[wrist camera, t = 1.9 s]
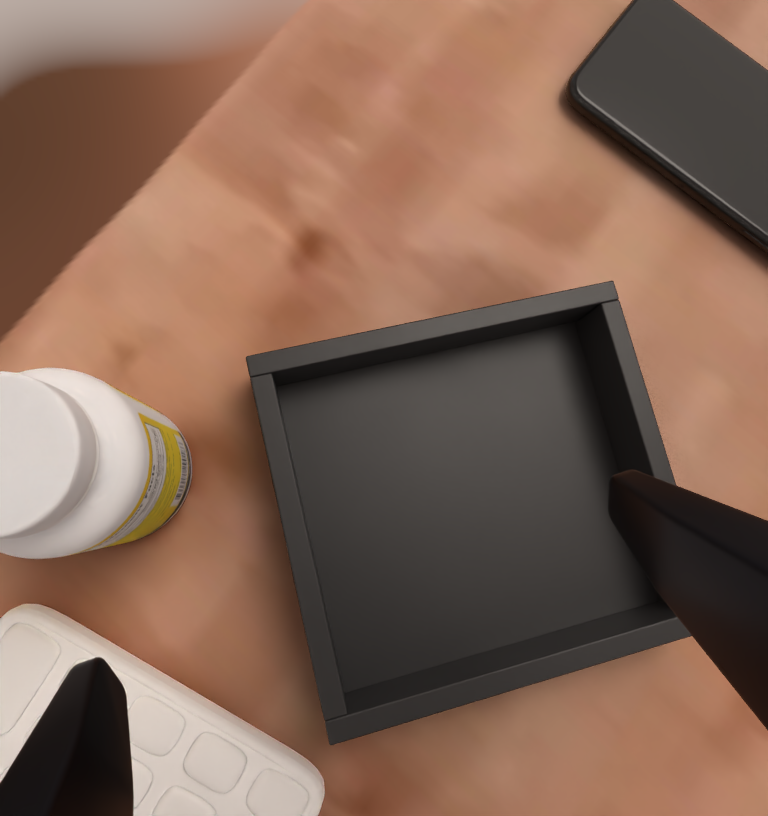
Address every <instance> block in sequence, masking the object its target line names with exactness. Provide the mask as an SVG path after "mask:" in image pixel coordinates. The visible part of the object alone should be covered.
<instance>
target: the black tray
mask: <svg viewBox="0 0 768 816" xmlns="http://www.w3.org/2000/svg"><path fill="white" fill-rule="evenodd" d="M246 361H247V366H248V371H249V375H250V378H251V379H250V380H251V384H252V389H253V394H254V398H255V403H256V408H257V412H258V417H259V421H260V426H261V431H262V435H263V440H264V444H265V449H266V454H267V458H268V463H269V467H270V472H271V477H272V481H273V486H274V490H275V495H276V500H277V504H278V509H279V514H280V518H281V523H282V527H283V532H284V537H285V541H286V546H287V550H288V555H289V560H290V564H291V569H292V573H293V578H294V583H295V587H296V592H297V596H298V601H299V606H300V610H301V615H302V620H303V624H304V629H305V633H306V638H307V643H308V647H309V652H310V656H311V661H312V666H313V670H314V675H315V679H316V684H317V689H318V693H319V698H320V702H321V707H322V712H323V716H324V720H325V725H326V730H327V735H328V739H329V744H330V745H334V744H337V743H341V742H344V741H347V740H351V739H354V738H357V737H360V736H364V735H367V734H370V733H374V732H377V731H380V730H383V729H387V728H390V727H393V726H397V725H400V724H403V723H407V722H410V721H413V720H416V719H420V718H423V717H426V716H430V715H433V714H436V713H439V712H443V711H446V710H449V709H453V708H456V707H459V706H462V705H466V704H469V703H472V702H476V701H479V700H482V699H486V698H489V697H492V696H495V695H499V694H502V693H505V692H509V691H512V690H515V689H518V688H522V687H525V686H528V685H532V684H535V683H538V682H541V681H545V680H548V679H551V678H555V677H558V676H561V675H564V674H568V673H571V672H574V671H578V670H581V669H584V668H588V667H591V666H594V665H597V664H601V663H604V662H607V661H611V660H614V659H617V658H620V657H624V656H627V655H630V654H634V653H637V652H640V651H643V650H647V649H650V648H653V647H657V646H660V645H663V644H666V643H670V642H673V641H676V640H680V639H683V638H686V637H690V636H692V635H691V634H690V632H689V631H688V630H687V629H686V627H685V626H684V625H683V624H682V622H681V621H680V620H679V619H678V617H677V616H676V615H675V614H674V612H673V611H672V610H671V609H670V607H669V606H668V605H667V604H666V602H665V601H664V600H663V598H662V597H661V596H660V595H659V593H658V592H657V591H656V589H655V588H654V586H653V585H652V583H651V582H650V580H649V579H648V577H647V576H646V574H645V572H644V571H643V569H642V568H641V566H640V565H639V563H638V561H637V560H636V558H635V557H634V555H633V554H632V552H631V551H630V549H629V547H628V546H627V544H626V543H625V541H624V540H623V538H622V536H621V535H620V533H619V532H618V530H617V529H616V527H615V526H614V524H613V522H612V521H611V519H610V516H609V513H608V494H609V480H610V478H611V477H612V476H613V475H615V474H618V473H621V472H623V471H626V470H631V469H632V470H637V471H639V472H642V473H645V474H647V475H650V476H652V477H655V478H658V479H660V480H663V481H665V482H668V483H671V484H673V485H676V483H675V480H674V477H673V474H672V470H671V467H670V464H669V461H668V457H667V454H666V451H665V448H664V444H663V441H662V438H661V435H660V431H659V428H658V425H657V422H656V418H655V415H654V412H653V409H652V405H651V402H650V399H649V396H648V392H647V389H646V386H645V383H644V379H643V376H642V373H641V370H640V367H639V363H638V360H637V357H636V354H635V350H634V347H633V344H632V341H631V337H630V334H629V331H628V328H627V324H626V321H625V318H624V315H623V311H622V308H621V305H620V302H619V300H618V295H617V291H616V288H615V285H614V282H613V281H609V282H604V283H599V284H594V285H589V286H584V287H580V288H575V289H570V290H565V291H560V292H555V293H551V294H546V295H541V296H536V297H531V298H526V299H522V300H517V301H512V302H507V303H502V304H497V305H493V306H488V307H483V308H478V309H473V310H468V311H463V312H459V313H454V314H449V315H444V316H439V317H434V318H430V319H425V320H420V321H415V322H410V323H405V324H401V325H396V326H391V327H386V328H381V329H376V330H372V331H367V332H362V333H357V334H352V335H347V336H342V337H338V338H333V339H328V340H323V341H318V342H313V343H309V344H304V345H299V346H294V347H289V348H284V349H280V350H275V351H270V352H265V353H260V354H255V355H251V356H247V357H246Z"/></svg>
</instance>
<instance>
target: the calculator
mask: <svg viewBox="0 0 768 816" xmlns="http://www.w3.org/2000/svg"><path fill="white" fill-rule="evenodd" d="M95 657H101V658H103V659H104V660H105V661H106V662H107V663H108V665H109V666H110V667H111V669H112V670H113V672H114V673H115V674H116V676H117V677H118V679H119V680H120V681H121V683H122V684H123V686H124V689H125V692H126V696H127V707H128V720H129V733H130V747H131V760H132V773H133V791H134V813H133V816H318V815H319V812H320V809H321V806H322V802H323V799H324V796H325V788H324V779H323V777H322V776H321V774H320V772H319V770H318V769H317V768H316V767H315V766H314V765H313V764H312V763H311V762H310V761H309V760H308V759H306V758H305V757H303V756H302V755H300V754H299V753H297V752H296V751H294V750H293V749H291V748H289V747H288V746H286V745H284V744H283V743H281V742H279V741H278V740H276V739H274V738H273V737H271V736H269V735H268V734H266V733H264V732H263V731H261V730H259V729H257V728H256V727H254V726H252V725H251V724H249V723H247V722H246V721H244V720H242V719H241V718H239V717H237V716H235V715H234V714H232V713H230V712H229V711H227V710H225V709H224V708H222V707H220V706H219V705H217V704H215V703H213V702H212V701H210V700H208V699H207V698H205V697H203V696H202V695H200V694H198V693H197V692H195V691H193V690H191V689H190V688H188V687H186V686H185V685H183V684H181V683H180V682H178V681H176V680H175V679H173V678H171V677H169V676H168V675H166V674H164V673H163V672H161V671H159V670H158V669H156V668H154V667H152V666H151V665H149V664H147V663H146V662H144V661H142V660H141V659H139V658H137V657H136V656H134V655H132V654H130V653H129V652H127V651H125V650H124V649H122V648H120V647H119V646H117V645H115V644H114V643H112V642H110V641H108V640H107V639H105V638H103V637H102V636H100V635H98V634H97V633H95V632H93V631H92V630H90V629H88V628H86V627H85V626H83V625H81V624H80V623H78V622H76V621H74V620H73V619H71V618H69V617H68V616H66V615H64V614H62V613H60V612H58V611H56V610H54V609H52V608H49V607H46V606H43V605H40V604H22V605H20V606H17V607H15V608H13V609H11V610H9V611H8V612H7V613H6V614H5V615H4V616H3V617H1V618H0V783H1V781H2V779H3V778H4V776H5V774H6V773H7V771H8V770H9V768H10V766H11V765H12V763H13V762H14V760H15V758H16V757H17V755H18V753H19V752H20V750H21V749H22V747H23V745H24V744H25V742H26V740H27V739H28V737H29V736H30V734H31V732H32V731H33V729H34V728H35V726H36V724H37V723H38V721H39V719H40V718H41V716H42V715H43V713H44V711H45V710H46V708H47V707H48V705H49V703H50V702H51V700H52V698H53V697H54V695H55V694H56V692H57V690H58V689H59V687H60V686H61V684H62V682H63V681H64V679H65V677H66V676H67V674H68V673H69V671H70V670H71V669H72V668H73V666H75V665H76V664H78V663H81V662H84V661H87V660H90V659H93V658H95Z"/></svg>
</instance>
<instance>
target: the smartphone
mask: <svg viewBox="0 0 768 816" xmlns="http://www.w3.org/2000/svg"><path fill="white" fill-rule="evenodd" d="M566 97H567V99H568V101H569V103H570V104H571V105H572V107H573V108H574V109H576V110H577V111H578V112H579V113H580V114H582V115H583V116H584V117H586V118H587V119H588V120H590V121H591V122H592V123H594V124H595V125H597V126H598V127H599V128H601V129H602V130H603V131H605V132H606V133H607V134H609V135H610V136H611V137H613V138H614V139H615V140H617V141H618V142H619V143H621V144H622V145H623V146H625V147H626V148H627V149H629V150H630V151H631V152H633V153H634V154H635V155H637V156H638V157H639V158H641V159H642V160H643V161H645V162H646V163H647V164H649V165H650V166H651V167H653V168H654V169H655V170H657V171H658V172H659V173H661V174H662V175H663V176H665V177H666V178H667V179H669V180H670V181H671V182H673V183H674V184H675V185H677V186H678V187H679V188H681V189H682V190H683V191H685V192H686V193H687V194H689V195H690V196H691V197H693V198H694V199H695V200H697V201H698V202H699V203H701V204H702V205H703V206H705V207H706V208H707V209H709V210H710V211H711V212H713V213H714V214H715V215H717V216H718V217H719V218H721V219H722V220H723V221H725V222H726V223H727V224H729V225H730V226H731V227H733V228H734V229H735V230H737V231H738V232H739V233H741V234H742V235H743V236H745V237H746V238H747V239H749V240H750V241H751V242H753V243H754V244H755V245H757V246H758V247H759V248H761V249H762V250H763V251H765V252H766V253H767V254H768V70H767V69H765V68H764V67H763V66H761V65H760V64H759V63H757V62H756V61H755V60H753V59H752V58H751V57H749V56H748V55H747V54H745V53H744V52H742V51H741V50H740V49H738V48H737V47H736V46H734V45H733V44H732V43H730V42H729V41H728V40H726V39H725V38H724V37H722V36H721V35H720V34H718V33H717V32H715V31H714V30H713V29H711V28H710V27H709V26H707V25H706V24H705V23H703V22H702V21H701V20H699V19H698V18H697V17H695V16H694V15H693V14H691V13H690V12H688V11H687V10H686V9H684V8H683V7H682V6H680V5H679V4H678V3H676V2H675V1H674V0H632V1H631V3H630V4H629V5H628V6H627V7H626V9H625V10H624V11H623V12H622V14H621V15H620V16H619V17H618V18H617V20H616V21H615V22H614V23H613V25H612V26H611V27H610V28H609V30H608V31H607V32H606V34H605V35H604V36H603V37H602V39H601V40H600V41H599V42H598V43H597V44H596V46H595V47H594V48H593V49H592V51H591V52H590V53H589V54H588V55H587V57H586V58H585V59H584V60H583V62H582V63H581V64H580V65H579V67H578V68H577V69H576V71H575V72H574V73H573V74H572V76H571V77H570V79H569V81H568V83H567V86H566Z"/></svg>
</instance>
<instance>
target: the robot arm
mask: <svg viewBox="0 0 768 816" xmlns="http://www.w3.org/2000/svg"><path fill="white" fill-rule="evenodd" d="M608 513H609V516H610V519H611V521H612V522H613V524H614V526H615V527H616V529H617V530H618V532H619V533H620V535H621V536H622V538H623V540H624V541H625V543H626V544H627V546H628V547H629V549H630V551H631V552H632V554H633V555H634V557H635V558H636V560H637V561H638V563H639V565H640V566H641V568H642V569H643V571H644V572H645V574H646V576H647V577H648V579H649V580H650V582H651V583H652V585H653V586H654V588H655V589H656V591H657V592H658V593H659V595H660V596H661V597H662V598H663V600H664V601H665V602H666V604H667V605H668V606H669V607H670V609H671V610H672V611H673V612H674V614H675V615H676V616H677V617H678V619H679V620H680V621H681V622H682V624H683V625H684V626H685V627H686V629H687V630H688V631H689V632H690V634H691V635H692V636H693V637H694V639H695V640H696V641H697V642H698V644H699V645H700V646H701V647H702V649H703V650H704V651H705V652H706V654H707V655H708V656H709V657H710V659H711V660H712V661H713V662H714V664H715V665H716V666H717V667H718V669H719V670H720V671H721V672H722V674H723V675H724V676H725V677H726V679H727V680H728V681H729V682H730V684H731V685H732V686H733V687H734V689H735V690H736V691H737V692H738V694H739V695H740V696H741V697H742V699H743V700H744V701H745V702H746V704H747V705H748V706H749V707H750V709H751V710H752V711H753V712H754V714H755V715H756V716H757V717H758V719H759V720H760V721H761V722H762V724H763V725H764V726H765V727H766V729H767V730H768V521H767V520H764V519H761V518H759V517H756V516H754V515H751V514H748V513H746V512H743V511H741V510H738V509H735V508H733V507H730V506H728V505H725V504H722V503H720V502H717V501H715V500H712V499H709V498H707V497H704V496H702V495H699V494H697V493H694V492H691V491H689V490H686V489H684V488H681V487H678V486H676V485H673V484H671V483H668V482H665V481H663V480H660V479H658V478H655V477H652V476H650V475H647V474H645V473H642V472H639V471H637V470H632V469H631V470H626V471H623V472H621V473H618V474H615V475H613V476H612V477H611V478H610V480H609V494H608ZM133 813H134V791H133V773H132V760H131V747H130V733H129V720H128V707H127V696H126V692H125V689H124V686H123V684H122V683H121V681H120V680H119V679H118V677H117V676H116V674H115V673H114V672H113V670H112V669H111V667H110V666H109V665H108V663H107V662H106V661H105V660H104V659H103V658H101V657H95V658H93V659H90V660H87V661H84V662H81V663H78V664H76V665H75V666H73V668H72V669H71V670H70V671H69V673H68V674H67V676H66V677H65V679H64V681H63V682H62V684H61V686H60V687H59V689H58V690H57V692H56V694H55V695H54V697H53V698H52V700H51V702H50V703H49V705H48V707H47V708H46V710H45V711H44V713H43V715H42V716H41V718H40V719H39V721H38V723H37V724H36V726H35V728H34V729H33V731H32V732H31V734H30V736H29V737H28V739H27V740H26V742H25V744H24V745H23V747H22V749H21V750H20V752H19V753H18V755H17V757H16V758H15V760H14V762H13V763H12V765H11V766H10V768H9V770H8V771H7V773H6V774H5V776H4V778H3V779H2V781H1V783H0V816H133Z"/></svg>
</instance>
